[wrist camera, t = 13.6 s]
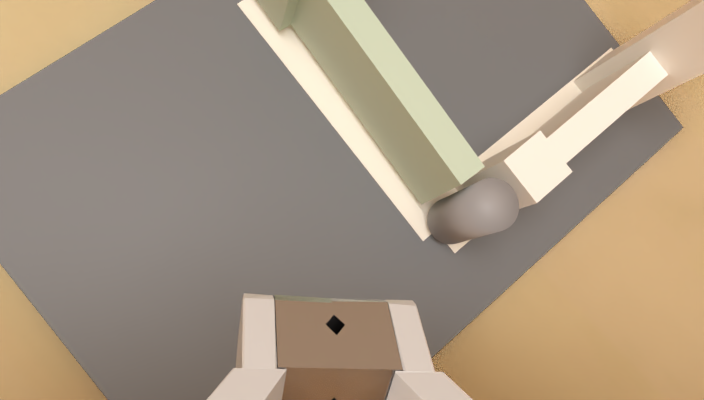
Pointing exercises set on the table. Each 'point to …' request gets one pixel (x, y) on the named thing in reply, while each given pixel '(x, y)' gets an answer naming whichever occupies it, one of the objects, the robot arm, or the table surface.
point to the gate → (400, 115)
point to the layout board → (276, 177)
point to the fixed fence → (602, 102)
